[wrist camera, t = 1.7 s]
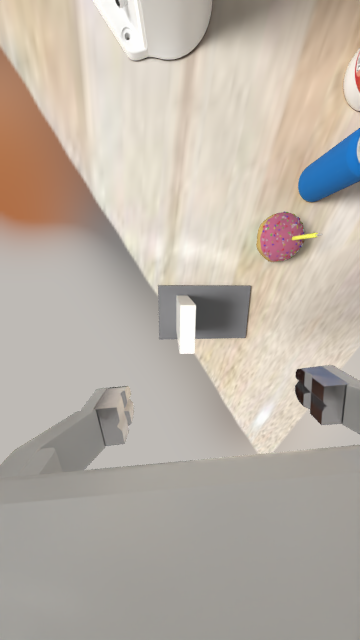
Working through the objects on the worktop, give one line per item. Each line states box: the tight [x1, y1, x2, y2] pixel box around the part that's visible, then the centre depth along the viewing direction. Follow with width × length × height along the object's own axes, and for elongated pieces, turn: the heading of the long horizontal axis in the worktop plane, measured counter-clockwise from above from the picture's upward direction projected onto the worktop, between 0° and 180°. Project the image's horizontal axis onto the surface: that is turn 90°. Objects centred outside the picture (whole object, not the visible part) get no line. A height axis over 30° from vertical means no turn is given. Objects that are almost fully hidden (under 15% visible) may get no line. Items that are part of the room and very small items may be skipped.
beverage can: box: [298, 128, 360, 202], centre depth 31 cm, size 6×6×12 cm
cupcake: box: [256, 212, 322, 262], centre depth 33 cm, size 9×8×12 cm
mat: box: [158, 286, 251, 339], centre depth 41 cm, size 20×12×1 cm, turn 90°
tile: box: [176, 295, 196, 354], centre depth 35 cm, size 2×8×12 cm, turn 0°
